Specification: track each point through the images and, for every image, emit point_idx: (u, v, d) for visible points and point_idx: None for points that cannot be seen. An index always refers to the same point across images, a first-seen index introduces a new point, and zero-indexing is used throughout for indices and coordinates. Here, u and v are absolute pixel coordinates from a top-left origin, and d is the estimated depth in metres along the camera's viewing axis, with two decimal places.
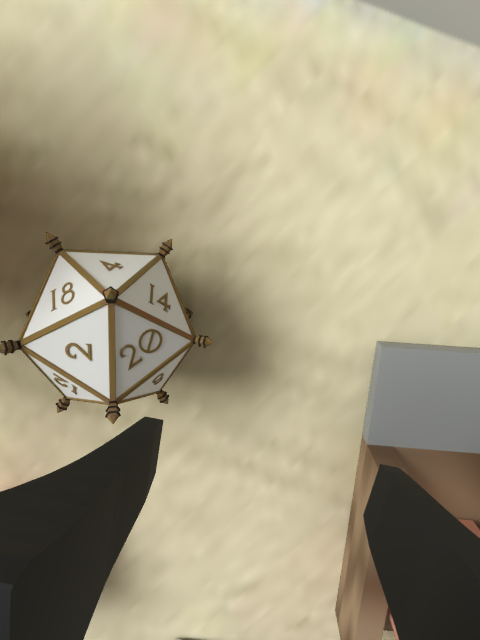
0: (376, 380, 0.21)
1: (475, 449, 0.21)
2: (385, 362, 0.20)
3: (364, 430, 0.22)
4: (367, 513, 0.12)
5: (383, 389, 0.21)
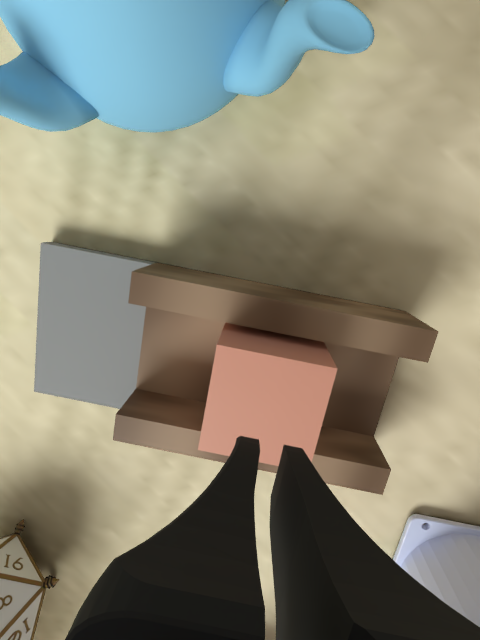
0: (68, 397, 0.22)
1: (141, 311, 0.20)
2: (49, 390, 0.22)
3: None
4: (272, 494, 0.12)
5: (75, 393, 0.22)
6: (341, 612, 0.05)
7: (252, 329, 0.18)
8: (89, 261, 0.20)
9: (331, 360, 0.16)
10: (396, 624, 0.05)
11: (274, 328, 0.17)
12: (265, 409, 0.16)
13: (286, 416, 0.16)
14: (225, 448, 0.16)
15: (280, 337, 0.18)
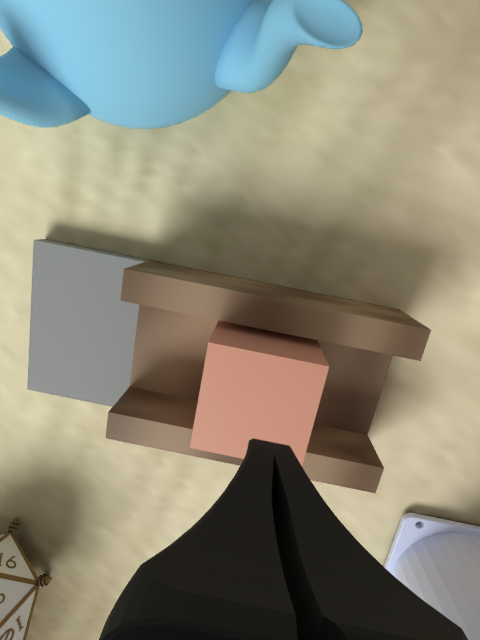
0: (61, 395, 0.22)
1: (134, 309, 0.20)
2: (42, 388, 0.22)
3: None
4: None
5: (68, 391, 0.22)
6: (313, 606, 0.05)
7: (245, 327, 0.18)
8: (82, 258, 0.20)
9: (323, 358, 0.16)
10: (367, 618, 0.05)
11: (267, 326, 0.17)
12: (257, 407, 0.16)
13: (278, 414, 0.16)
14: (217, 446, 0.16)
15: (273, 335, 0.18)
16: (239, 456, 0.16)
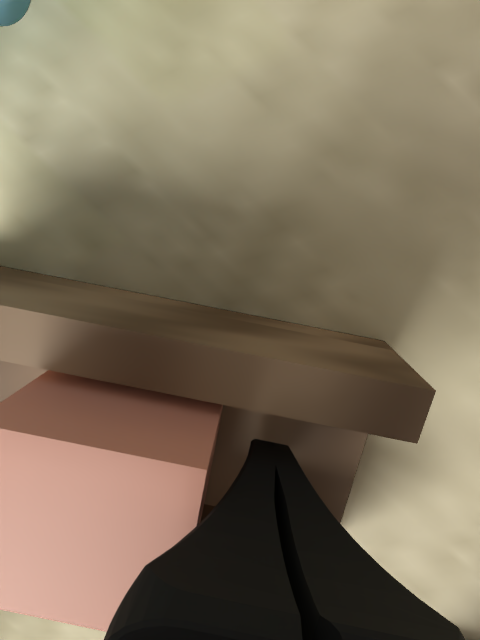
0: None
1: None
2: None
3: None
4: None
5: None
6: (310, 606, 0.05)
7: None
8: None
9: (208, 444, 0.08)
10: (363, 617, 0.05)
11: (144, 382, 0.10)
12: (80, 539, 0.08)
13: (120, 552, 0.08)
14: (19, 602, 0.09)
15: (144, 389, 0.10)
16: (61, 620, 0.09)
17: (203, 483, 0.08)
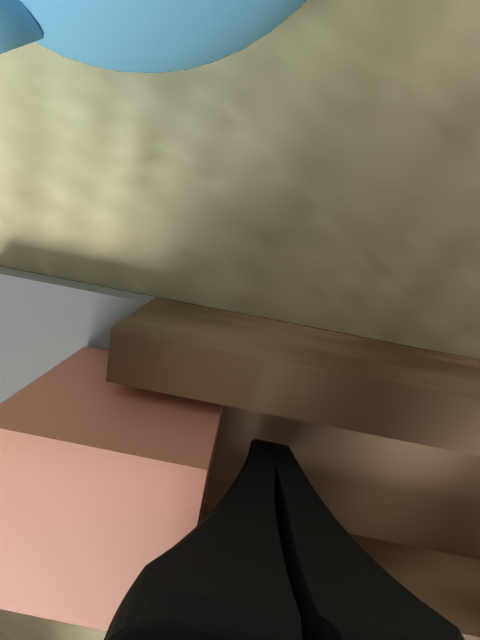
0: None
1: None
2: None
3: None
4: None
5: None
6: (310, 605, 0.05)
7: (102, 374, 0.11)
8: (48, 297, 0.12)
9: (209, 444, 0.08)
10: (363, 617, 0.05)
11: (366, 427, 0.09)
12: (81, 539, 0.08)
13: (121, 551, 0.08)
14: (21, 602, 0.09)
15: (144, 389, 0.10)
16: (61, 620, 0.09)
17: (204, 483, 0.08)
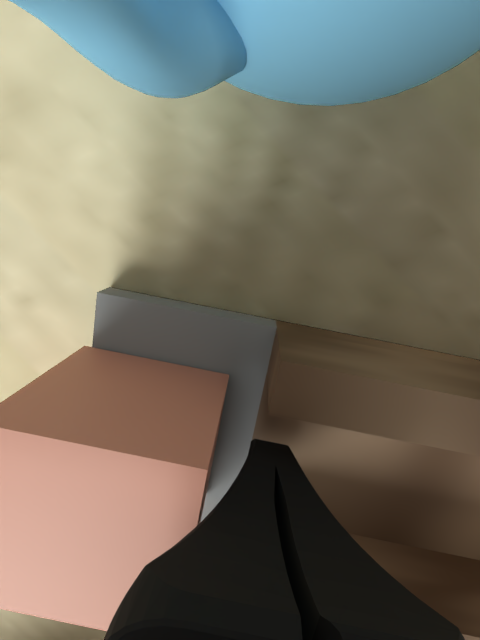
0: None
1: (253, 399, 0.13)
2: None
3: None
4: None
5: None
6: (310, 606, 0.05)
7: (102, 374, 0.11)
8: (175, 322, 0.12)
9: (209, 444, 0.08)
10: (363, 617, 0.05)
11: None
12: (80, 539, 0.08)
13: (121, 552, 0.08)
14: (20, 602, 0.09)
15: (144, 389, 0.10)
16: (61, 620, 0.09)
17: (204, 483, 0.08)
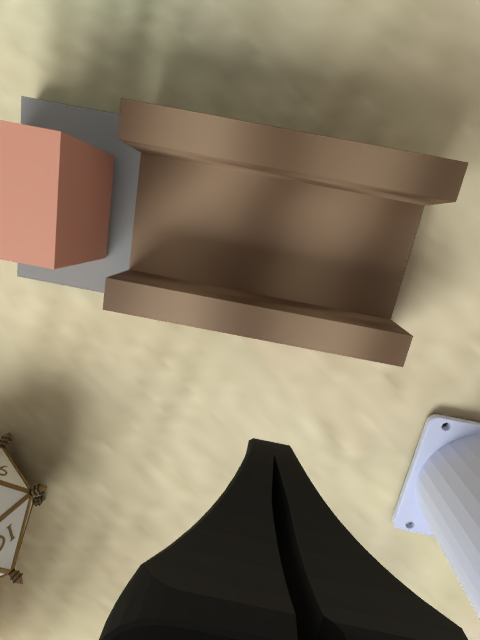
0: (54, 282, 0.20)
1: (133, 177, 0.18)
2: (33, 274, 0.20)
3: None
4: None
5: (62, 277, 0.20)
6: (314, 607, 0.05)
7: None
8: (75, 117, 0.18)
9: None
10: (367, 618, 0.05)
11: (282, 165, 0.15)
12: None
13: (16, 197, 0.14)
14: None
15: None
16: None
17: (60, 142, 0.13)
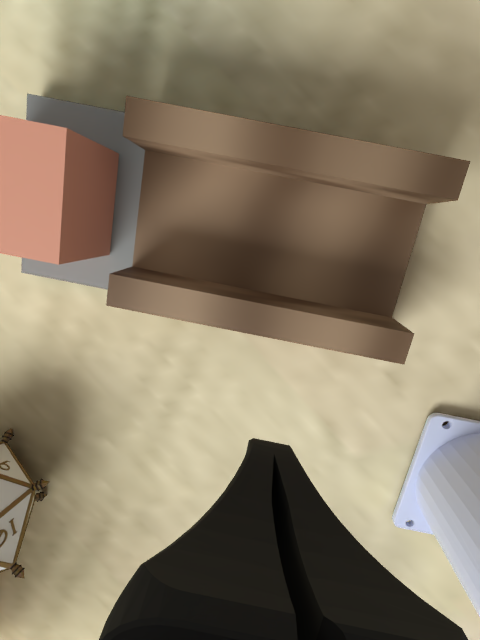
0: (58, 279, 0.20)
1: (137, 174, 0.18)
2: (37, 270, 0.20)
3: None
4: None
5: (66, 273, 0.20)
6: (313, 606, 0.05)
7: None
8: (80, 115, 0.18)
9: (76, 133, 0.14)
10: (366, 618, 0.05)
11: (286, 162, 0.15)
12: None
13: (22, 192, 0.14)
14: None
15: None
16: None
17: (66, 139, 0.13)
